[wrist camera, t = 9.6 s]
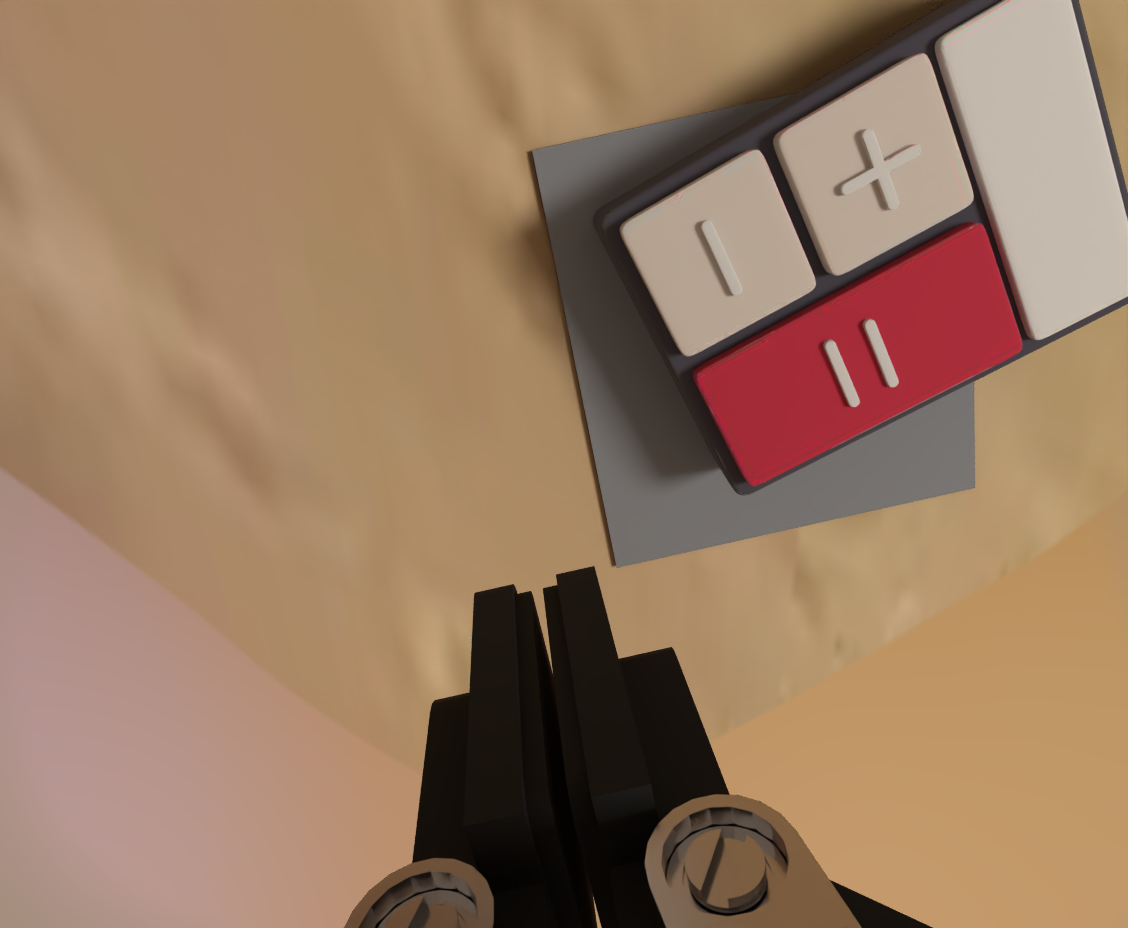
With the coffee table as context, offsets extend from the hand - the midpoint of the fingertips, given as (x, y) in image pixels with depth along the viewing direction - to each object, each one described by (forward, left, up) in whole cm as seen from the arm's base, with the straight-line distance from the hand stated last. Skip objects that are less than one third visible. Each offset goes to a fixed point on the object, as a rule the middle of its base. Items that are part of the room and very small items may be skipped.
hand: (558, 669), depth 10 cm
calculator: (-2, +12, -19) cm, 22 cm away
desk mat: (+1, +10, -18) cm, 21 cm away
